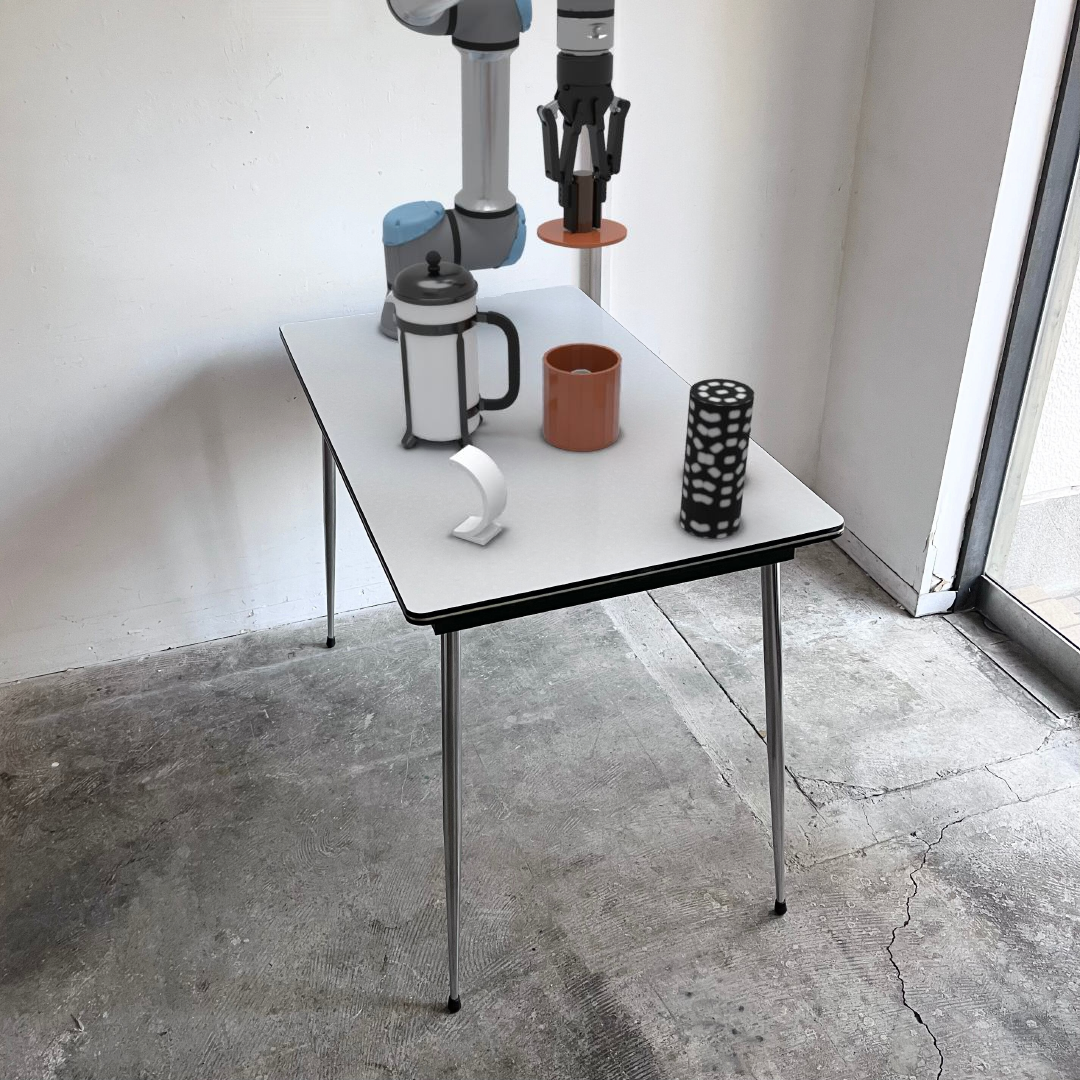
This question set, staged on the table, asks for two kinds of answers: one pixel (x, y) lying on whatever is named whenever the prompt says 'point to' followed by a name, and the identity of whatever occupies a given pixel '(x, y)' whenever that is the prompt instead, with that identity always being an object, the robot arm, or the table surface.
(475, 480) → the headphone stand
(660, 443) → the table surface
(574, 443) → the canister
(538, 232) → the lid
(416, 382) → the coffee press
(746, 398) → the white-spotted black cylinder
